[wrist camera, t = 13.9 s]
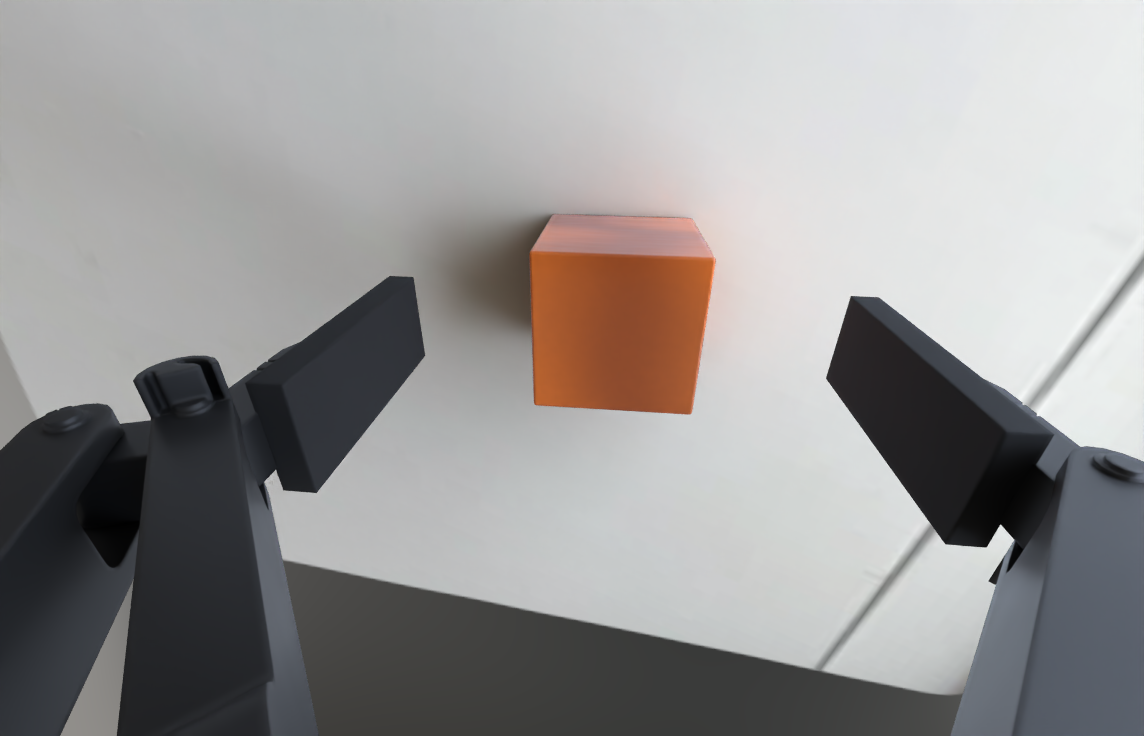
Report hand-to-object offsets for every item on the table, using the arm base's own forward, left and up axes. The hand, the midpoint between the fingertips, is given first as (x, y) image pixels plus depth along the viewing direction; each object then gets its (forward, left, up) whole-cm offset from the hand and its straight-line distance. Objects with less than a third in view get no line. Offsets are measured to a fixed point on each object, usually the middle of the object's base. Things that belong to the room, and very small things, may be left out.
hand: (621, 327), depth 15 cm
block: (0, 0, -4) cm, 4 cm away
